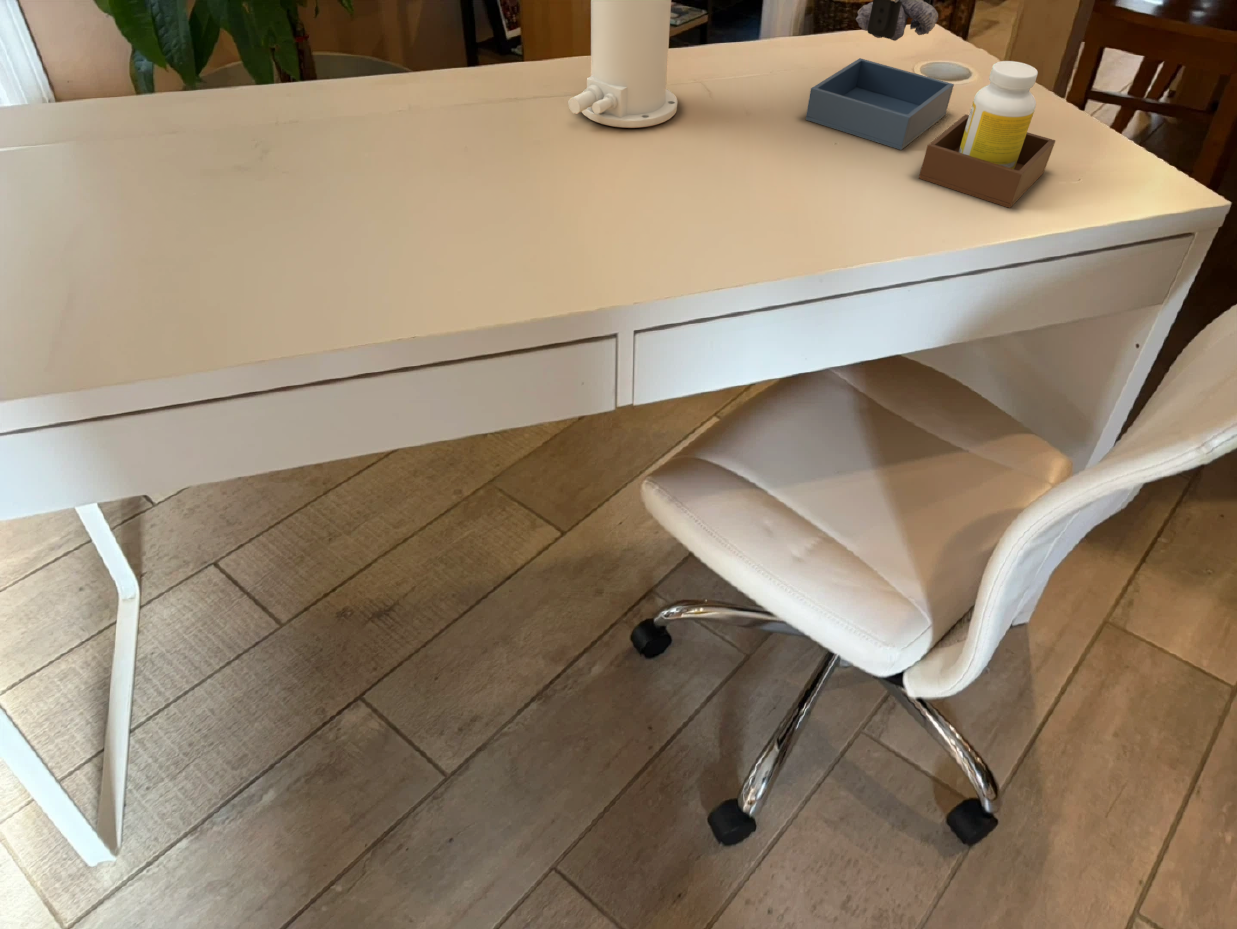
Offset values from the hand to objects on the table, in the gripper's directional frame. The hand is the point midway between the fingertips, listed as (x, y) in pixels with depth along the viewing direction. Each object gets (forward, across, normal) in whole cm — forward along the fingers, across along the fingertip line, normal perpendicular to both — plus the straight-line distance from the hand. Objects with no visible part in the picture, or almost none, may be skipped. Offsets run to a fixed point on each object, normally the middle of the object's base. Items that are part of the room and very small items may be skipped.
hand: (897, 24), depth 108 cm
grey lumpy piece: (+2, 0, 0) cm, 2 cm away
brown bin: (+11, +7, +17) cm, 21 cm away
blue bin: (+11, 0, 0) cm, 11 cm away
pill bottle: (+11, +7, +17) cm, 21 cm away
